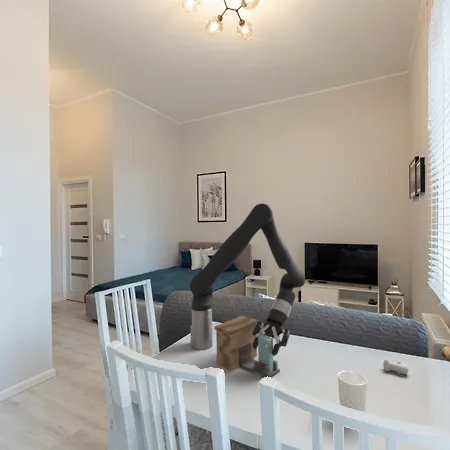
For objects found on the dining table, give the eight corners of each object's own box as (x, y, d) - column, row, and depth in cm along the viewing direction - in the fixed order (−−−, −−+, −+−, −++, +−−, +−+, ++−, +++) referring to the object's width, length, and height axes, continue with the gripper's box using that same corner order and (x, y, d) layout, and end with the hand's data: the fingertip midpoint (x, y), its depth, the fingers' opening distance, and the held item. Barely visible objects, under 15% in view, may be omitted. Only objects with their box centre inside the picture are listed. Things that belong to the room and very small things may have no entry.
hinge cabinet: (215, 364, 114) (214, 326, 113) (241, 349, 126) (241, 315, 126) (261, 385, 98) (260, 341, 98) (286, 366, 111) (286, 327, 111)
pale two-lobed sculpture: (408, 375, 106) (408, 377, 101) (383, 369, 110) (382, 371, 106) (408, 363, 107) (408, 364, 102) (383, 357, 111) (383, 358, 107)
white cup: (365, 405, 87) (365, 373, 87) (369, 422, 79) (368, 387, 79) (337, 400, 89) (337, 369, 89) (339, 417, 82) (338, 382, 82)
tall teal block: (257, 369, 108) (256, 337, 107) (262, 365, 110) (262, 335, 110) (268, 374, 104) (267, 341, 104) (273, 370, 107) (272, 338, 107)
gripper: (260, 304, 118) (244, 341, 109) (291, 311, 108) (275, 352, 100) (268, 314, 121) (252, 350, 113) (298, 321, 112) (284, 361, 104)
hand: (263, 351), depth 106 cm, fingers open, 8 cm apart
